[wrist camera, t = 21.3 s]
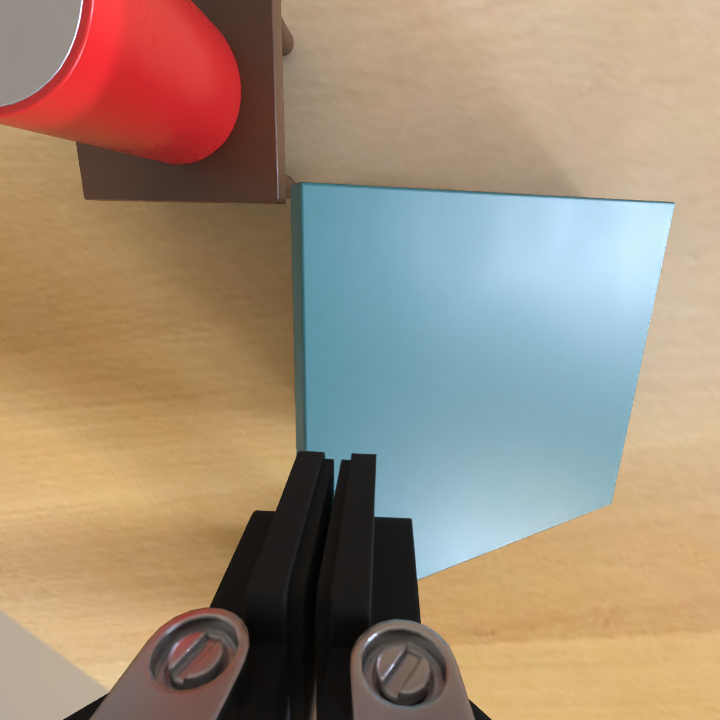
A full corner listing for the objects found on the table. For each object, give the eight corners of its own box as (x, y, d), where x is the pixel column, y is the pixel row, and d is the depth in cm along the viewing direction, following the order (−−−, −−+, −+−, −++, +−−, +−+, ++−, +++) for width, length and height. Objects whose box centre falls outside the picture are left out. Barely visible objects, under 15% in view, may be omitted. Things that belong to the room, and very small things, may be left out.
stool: (150, 203, 27) (83, 199, 21) (130, 21, 24) (48, -41, 18) (303, 206, 26) (278, 203, 20) (301, 20, 23) (271, -43, 18)
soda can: (112, 163, 20) (-136, 116, 11) (92, 3, 19) (-227, -223, 9) (245, 165, 20) (110, 118, 11) (237, 2, 18) (65, -234, 9)
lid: (299, 606, 16) (307, 624, 15) (289, 183, 12) (299, 181, 11) (597, 495, 23) (612, 504, 22) (656, 202, 19) (676, 202, 18)
